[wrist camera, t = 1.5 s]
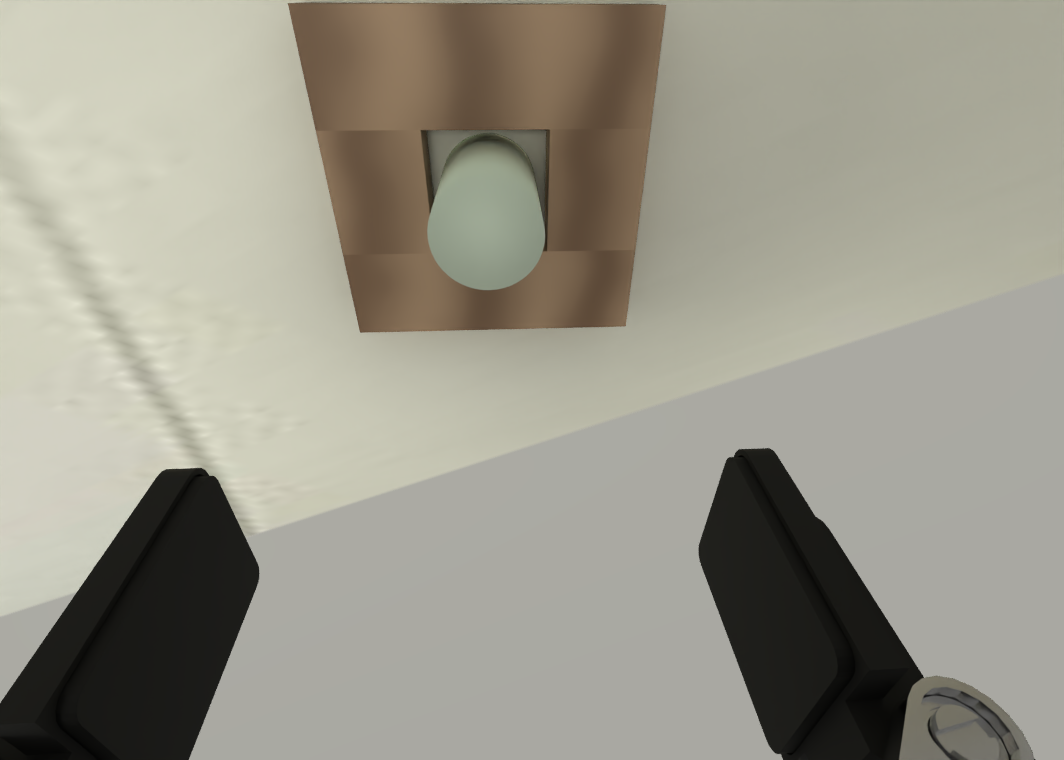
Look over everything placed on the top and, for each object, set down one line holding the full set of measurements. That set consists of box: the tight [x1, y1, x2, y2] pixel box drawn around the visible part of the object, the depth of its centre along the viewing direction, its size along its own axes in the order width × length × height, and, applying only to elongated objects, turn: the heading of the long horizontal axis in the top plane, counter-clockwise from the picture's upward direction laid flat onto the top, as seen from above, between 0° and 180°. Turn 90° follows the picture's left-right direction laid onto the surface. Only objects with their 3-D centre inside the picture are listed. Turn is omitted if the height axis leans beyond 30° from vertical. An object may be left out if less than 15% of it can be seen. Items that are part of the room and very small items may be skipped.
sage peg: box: [427, 133, 545, 290], centre depth 26 cm, size 5×5×8 cm
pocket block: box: [288, 3, 666, 332], centre depth 28 cm, size 16×16×2 cm
